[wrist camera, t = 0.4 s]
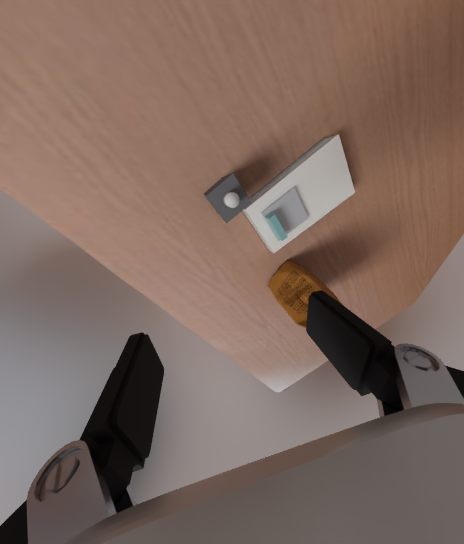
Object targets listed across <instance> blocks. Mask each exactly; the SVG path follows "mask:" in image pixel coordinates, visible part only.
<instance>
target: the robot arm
mask: <svg viewBox="0 0 464 544" xmlns="http://www.w3.org/2000/svg"><path fill="white" fill-rule="evenodd" d="M306 331H307V333H308V335H309V336H310V337H311V339H312V340H313V341H314V342H315V343H316V345H317V346H318V347H319V348H320V350H321V351H322V352H323V353H324V355H325V356H326V357H327V358H328V360H329V361H330V362H331V363H332V364H333V366H334V367H335V368H336V369H337V371H338V372H339V373H340V374H341V375H342V377H343V378H344V379H345V381H346V382H347V383H348V384H349V385H350V387H351V388H352V389H354V390H357V391H358V392H359V394H360V395H361V396H363V395H366V394H369V393H371V392H372V393H373V394H374V395H375V397H376V398H377V403H378V409H379V415H380V418H377V419H374V420H371V421H368V422H366V423H363V424H360V425H357V426H354V427H351V428H348V429H345V430H343V431H340V432H337V433H334V434H331V435H328V436H325V437H322V438H319V439H317V440H314V441H311V442H308V443H305V444H303V445H300V446H297V447H294V448H291V449H288V450H286V451H283V452H280V453H277V454H274V455H271V456H269V457H266V458H263V459H260V460H257V461H255V462H252V463H249V464H246V465H243V466H241V467H238V468H235V469H232V470H229V471H227V472H224V473H221V474H218V475H216V476H213V477H210V478H207V479H204V480H201V481H199V482H196V483H193V484H190V485H188V486H185V487H182V488H179V489H176V490H174V491H171V492H169V493H166V494H163V495H161V496H158V497H156V498H153V499H151V500H148V501H145V502H143V503H140V504H137V503H136V501H135V498H134V496H133V494H132V491H131V489H130V487H129V484H130V480H131V475H132V472H134V471H137V470H140V469H143V468H144V462H145V458H147V457H148V456H149V453H150V449H151V443H152V437H153V432H154V426H155V420H156V415H157V409H158V404H159V398H160V392H161V387H162V381H163V376H164V367H163V365H162V363H161V361H160V359H159V356H158V354H157V352H156V350H155V348H154V346H153V344H152V342H151V340H150V338H149V336H148V335H147V334H146V335H145V334H144V333H139V334H134V335H131V336H130V337H129V339H128V341H127V343H126V345H125V347H124V350H123V352H122V354H121V356H120V358H119V360H118V362H117V365H116V367H115V368H114V369H113V371H112V373H111V374H110V377H109V379H108V381H107V383H106V385H105V387H104V389H103V391H102V393H101V396H100V398H99V400H98V402H97V404H96V406H95V408H94V411H93V413H92V415H91V417H90V419H89V421H88V423H87V425H86V427H85V430H84V432H83V434H82V436H81V438H80V440H78V441H73V442H71V443H69V444H67V445H65V446H64V447H62V448H61V449H60V450H58V451H57V452H56V453H55V454H54V455H53V456H52V457H51V458H50V459H49V460H48V461H47V462H46V463H45V465H44V466H43V467H42V468H41V469H40V471H39V472H38V474H37V475H36V477H35V479H34V480H33V482H32V484H31V487H30V489H29V492H28V497H27V500H26V501H25V502H24V503H23V504H22V505H21V506H20V507H19V508H18V509H17V510H16V511H15V512H14V513H13V514H12V515H11V516H10V517H9V518H8V519H7V520H6V521H5V522H4V523H3V524H2V525H1V526H0V544H464V371H461V370H458V369H454V368H451V367H448V366H445V365H444V364H443V362H442V361H441V360H440V359H439V358H438V357H437V356H436V355H434V354H433V353H431V352H429V351H428V350H426V349H424V348H421V347H419V346H416V345H412V344H399V345H396V347H394V346H393V345H391V343H392V342H391V341H390V340H388V339H387V338H386V337H384V336H383V335H382V334H380V333H379V332H378V331H376V330H375V329H374V328H372V327H371V326H370V325H368V324H367V323H366V322H364V321H363V320H362V319H360V318H359V317H358V316H356V315H355V314H354V313H352V312H351V311H350V310H348V309H347V308H346V307H344V306H343V305H342V304H340V303H339V302H338V301H336V300H335V299H334V298H332V297H331V296H330V295H328V294H327V293H326V292H324V291H323V290H319V291H315V292H312V293H311V295H309V298H308V311H307V323H306Z"/></svg>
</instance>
